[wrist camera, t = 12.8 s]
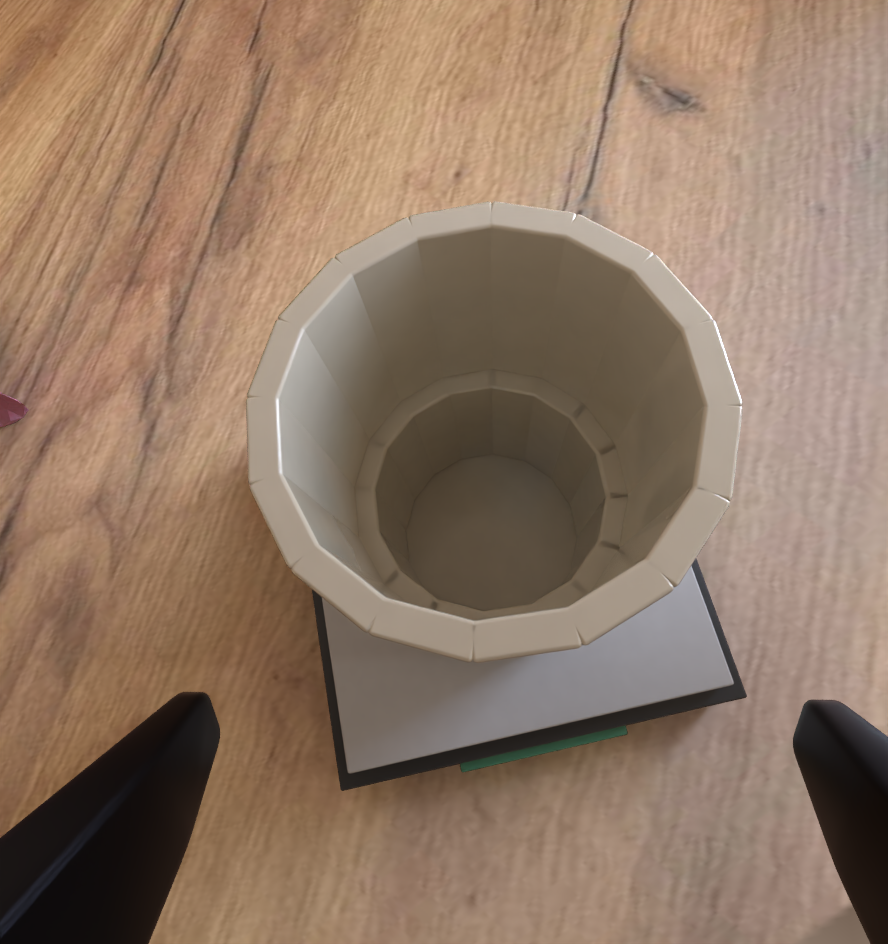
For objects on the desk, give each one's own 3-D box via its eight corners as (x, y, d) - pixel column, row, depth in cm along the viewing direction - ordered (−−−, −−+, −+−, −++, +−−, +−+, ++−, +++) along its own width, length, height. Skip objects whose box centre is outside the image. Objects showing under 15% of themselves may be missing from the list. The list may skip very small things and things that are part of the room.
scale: (725, 702, 18) (764, 711, 15) (358, 787, 18) (334, 810, 15) (606, 367, 22) (621, 327, 19) (305, 439, 22) (278, 410, 19)
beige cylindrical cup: (518, 705, 16) (550, 786, 6) (337, 561, 18) (149, 455, 8) (647, 514, 17) (834, 343, 8) (467, 397, 19) (437, 139, 9)
